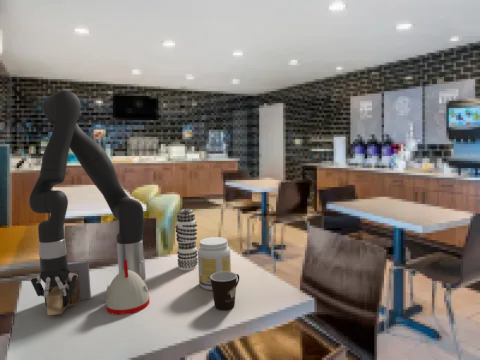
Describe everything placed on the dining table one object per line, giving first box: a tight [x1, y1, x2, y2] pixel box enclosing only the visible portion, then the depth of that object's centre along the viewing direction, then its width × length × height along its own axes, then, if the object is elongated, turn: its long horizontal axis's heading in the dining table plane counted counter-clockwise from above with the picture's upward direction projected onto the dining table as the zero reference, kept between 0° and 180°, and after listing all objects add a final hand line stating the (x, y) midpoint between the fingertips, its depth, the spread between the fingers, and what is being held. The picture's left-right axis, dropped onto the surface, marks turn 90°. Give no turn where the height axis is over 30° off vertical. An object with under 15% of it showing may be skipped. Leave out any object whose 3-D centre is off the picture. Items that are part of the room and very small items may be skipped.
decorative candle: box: [175, 208, 198, 271], centre depth 153 cm, size 9×9×25 cm
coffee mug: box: [210, 271, 240, 311], centre depth 117 cm, size 12×9×10 cm
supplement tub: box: [197, 236, 232, 291], centre depth 134 cm, size 12×12×17 cm
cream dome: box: [105, 260, 150, 316], centre depth 119 cm, size 14×14×15 cm
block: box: [51, 271, 82, 308], centre depth 120 cm, size 8×5×10 cm, turn 98°
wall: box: [67, 261, 92, 301], centre depth 124 cm, size 14×2×13 cm, turn 98°
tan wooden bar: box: [46, 282, 71, 316], centre depth 116 cm, size 4×12×6 cm, turn 8°
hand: (57, 306), depth 113 cm, fingers closed on tan wooden bar, 4 cm apart
